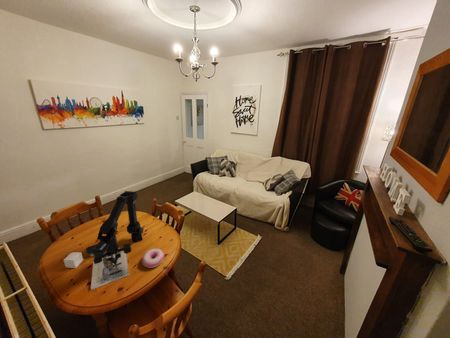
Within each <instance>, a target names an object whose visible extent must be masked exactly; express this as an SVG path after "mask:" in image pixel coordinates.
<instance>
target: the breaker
mask: <svg viewBox="0 0 450 338" xmlns="http://www.w3.org/2000/svg"><path fill="white" fill-rule="evenodd" d="M102 277H103V280H104V279H106V278H109V268H105V269H104V270H102Z"/></svg>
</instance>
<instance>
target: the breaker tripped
mask: <svg viewBox="0 0 450 338" xmlns="http://www.w3.org/2000/svg"><path fill="white" fill-rule="evenodd" d="M106 267H107V268H109V269H112V268H113V263H112V262H111V261H106Z"/></svg>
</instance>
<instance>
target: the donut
mask: <svg viewBox="0 0 450 338" xmlns="http://www.w3.org/2000/svg"><path fill="white" fill-rule="evenodd" d="M164 260H165V252H164V251H163V250H162V249H160V248H151V249H149V250H147V251H145V253H144V254H143V255H142V257H141V263H142V265H143V266H144V267H146V268H147V269H148V268H149V269H151V268H155V267H158V266H159V265H161V264H162V263H163V262H164Z"/></svg>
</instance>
